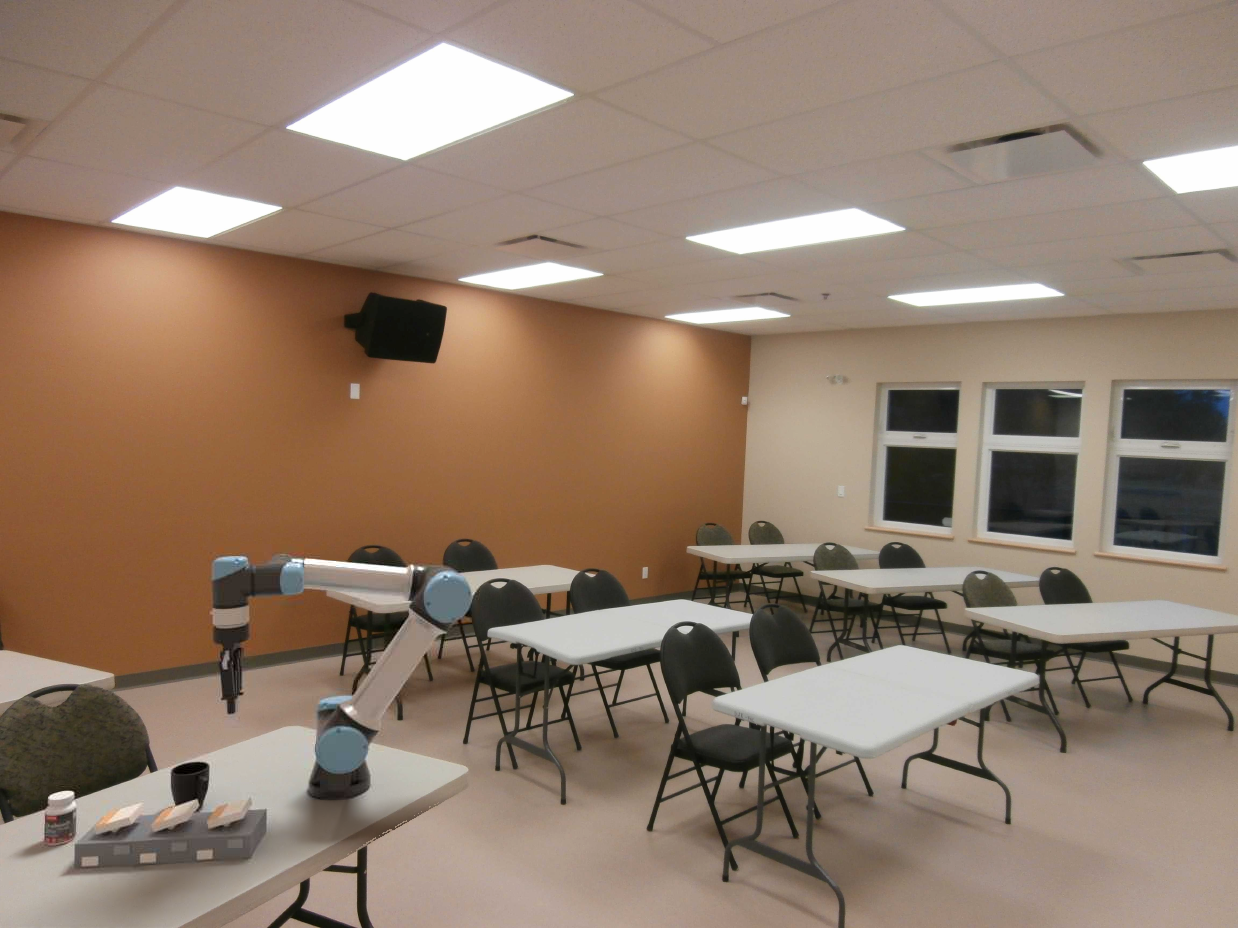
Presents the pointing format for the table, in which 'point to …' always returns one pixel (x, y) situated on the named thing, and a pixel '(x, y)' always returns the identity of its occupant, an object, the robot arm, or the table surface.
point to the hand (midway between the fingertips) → (233, 725)
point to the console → (172, 841)
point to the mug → (190, 782)
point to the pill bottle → (60, 818)
